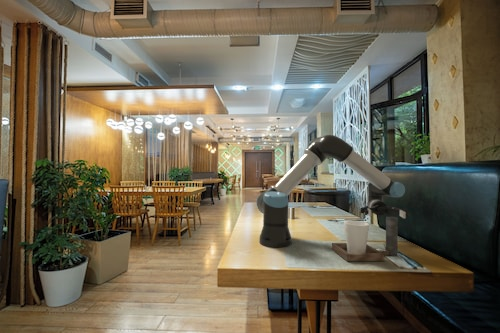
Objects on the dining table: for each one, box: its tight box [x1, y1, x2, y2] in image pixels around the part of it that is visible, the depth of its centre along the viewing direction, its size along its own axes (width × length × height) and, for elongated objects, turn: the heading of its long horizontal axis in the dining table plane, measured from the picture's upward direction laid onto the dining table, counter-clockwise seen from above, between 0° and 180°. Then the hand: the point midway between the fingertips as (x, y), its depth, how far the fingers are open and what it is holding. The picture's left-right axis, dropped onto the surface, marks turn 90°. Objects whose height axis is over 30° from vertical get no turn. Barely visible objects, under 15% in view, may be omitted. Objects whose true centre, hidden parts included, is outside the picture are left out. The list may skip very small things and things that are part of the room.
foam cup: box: [343, 220, 370, 253], centre depth 99 cm, size 10×9×13 cm
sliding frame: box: [331, 216, 399, 262], centre depth 99 cm, size 24×14×15 cm, turn 94°
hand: (387, 214), depth 109 cm, fingers open, 13 cm apart
